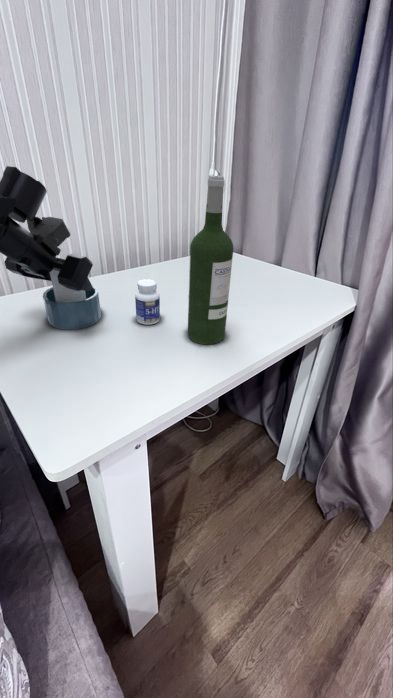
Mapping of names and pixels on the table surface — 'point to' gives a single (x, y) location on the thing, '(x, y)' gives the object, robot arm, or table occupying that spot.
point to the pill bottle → (147, 302)
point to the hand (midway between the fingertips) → (74, 284)
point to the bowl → (72, 310)
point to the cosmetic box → (65, 291)
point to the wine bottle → (210, 272)
